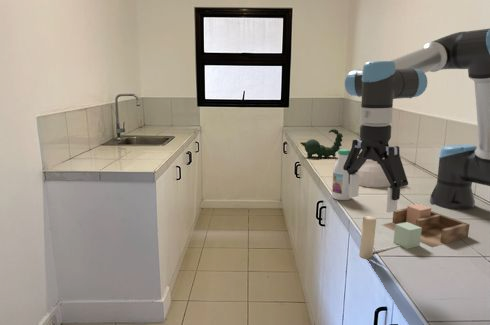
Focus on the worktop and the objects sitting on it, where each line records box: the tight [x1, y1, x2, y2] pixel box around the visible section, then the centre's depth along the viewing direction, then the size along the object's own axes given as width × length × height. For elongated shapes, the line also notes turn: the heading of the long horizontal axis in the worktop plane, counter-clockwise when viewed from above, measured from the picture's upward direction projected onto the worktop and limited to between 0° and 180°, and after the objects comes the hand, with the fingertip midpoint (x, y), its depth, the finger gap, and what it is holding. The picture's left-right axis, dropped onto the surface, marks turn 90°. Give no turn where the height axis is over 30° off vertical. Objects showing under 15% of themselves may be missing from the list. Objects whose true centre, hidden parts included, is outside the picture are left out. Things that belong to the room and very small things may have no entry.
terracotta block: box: [406, 203, 432, 225], centre depth 124 cm, size 5×5×6 cm
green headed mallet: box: [358, 215, 422, 260], centre depth 106 cm, size 20×5×11 cm, turn 116°
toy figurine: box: [300, 128, 344, 159], centre depth 232 cm, size 9×19×25 cm
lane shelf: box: [382, 207, 471, 248], centre depth 119 cm, size 16×19×5 cm
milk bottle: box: [331, 148, 352, 201], centre depth 152 cm, size 8×8×20 cm
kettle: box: [357, 148, 391, 189], centre depth 177 cm, size 20×21×18 cm
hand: (371, 203), depth 100 cm, fingers open, 13 cm apart
